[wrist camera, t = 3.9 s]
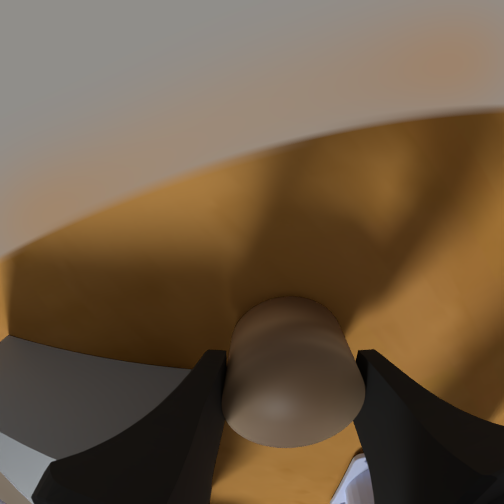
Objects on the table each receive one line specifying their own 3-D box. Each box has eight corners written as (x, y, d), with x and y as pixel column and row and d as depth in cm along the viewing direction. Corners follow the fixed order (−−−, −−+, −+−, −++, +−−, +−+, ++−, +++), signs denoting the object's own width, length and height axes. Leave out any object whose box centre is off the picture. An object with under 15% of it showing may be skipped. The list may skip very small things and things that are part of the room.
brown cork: (350, 297, 11) (380, 348, 8) (331, 386, 12) (347, 444, 9) (231, 293, 11) (219, 347, 8) (231, 385, 12) (223, 445, 9)
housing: (211, 488, 16) (201, 562, 10) (68, 455, 16) (40, 510, 10) (193, 369, 13) (158, 490, 6) (8, 335, 13) (-56, 394, 7)
